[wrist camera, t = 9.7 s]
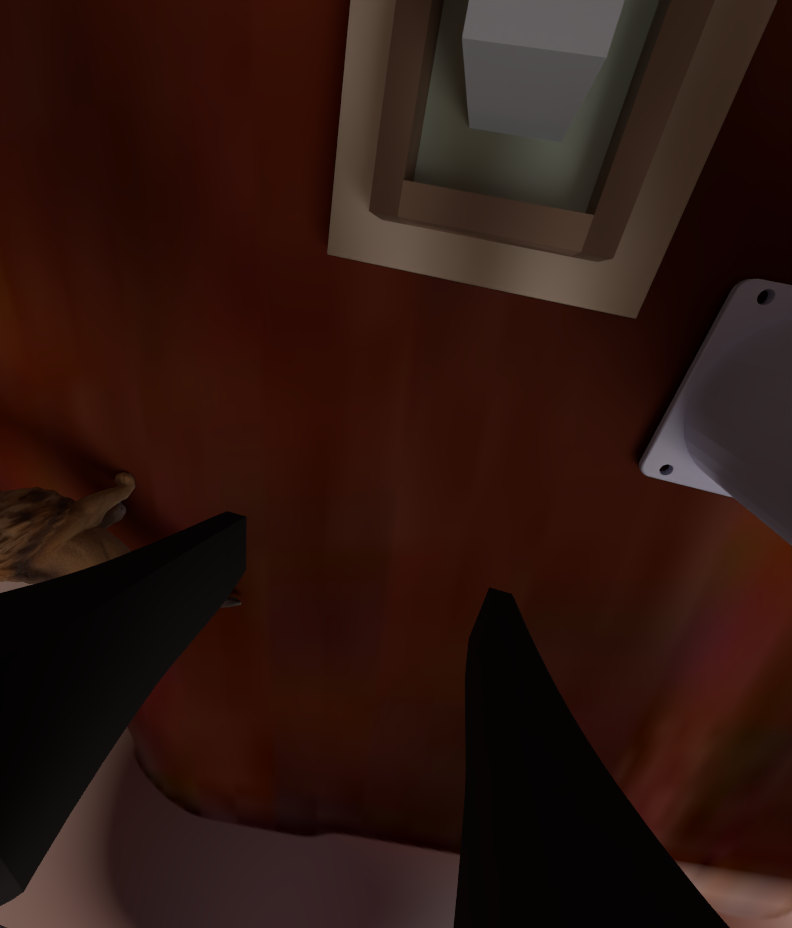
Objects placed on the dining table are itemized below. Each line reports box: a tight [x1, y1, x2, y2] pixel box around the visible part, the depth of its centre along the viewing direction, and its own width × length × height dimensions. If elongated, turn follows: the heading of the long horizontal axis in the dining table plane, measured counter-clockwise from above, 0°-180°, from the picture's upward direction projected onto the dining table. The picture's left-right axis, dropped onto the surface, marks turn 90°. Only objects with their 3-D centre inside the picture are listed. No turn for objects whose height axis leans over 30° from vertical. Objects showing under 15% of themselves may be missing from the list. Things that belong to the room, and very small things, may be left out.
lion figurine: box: [0, 472, 241, 608], centre depth 21 cm, size 15×5×9 cm, turn 49°
